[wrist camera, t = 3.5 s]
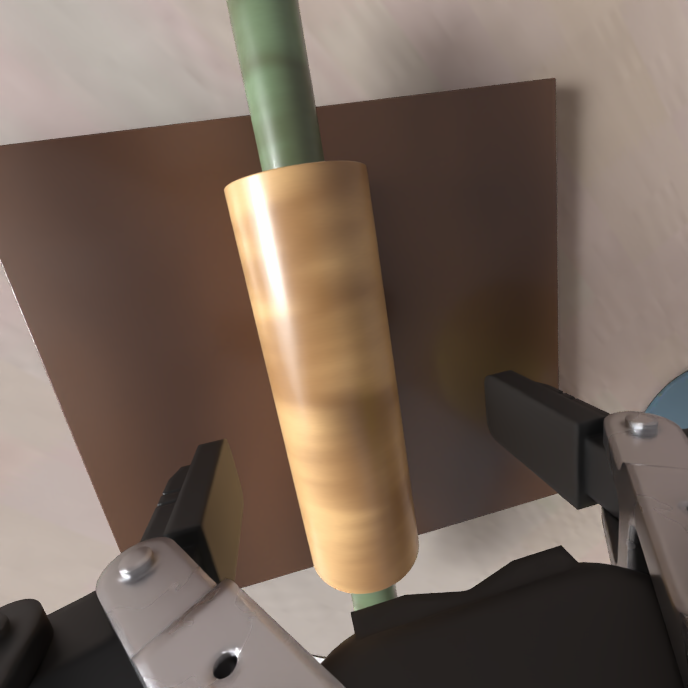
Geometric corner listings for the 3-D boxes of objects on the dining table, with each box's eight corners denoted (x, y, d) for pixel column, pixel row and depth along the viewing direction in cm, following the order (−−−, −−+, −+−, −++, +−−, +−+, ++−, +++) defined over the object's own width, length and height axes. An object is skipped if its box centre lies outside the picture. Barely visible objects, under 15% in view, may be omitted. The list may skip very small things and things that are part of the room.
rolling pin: (327, 608, 21) (344, 714, 16) (190, 26, 13) (145, -100, 9) (410, 582, 22) (450, 675, 17) (324, 14, 14) (352, -108, 9)
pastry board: (153, 596, 20) (146, 617, 19) (-21, 158, 14) (-47, 150, 13) (546, 481, 23) (560, 493, 22) (537, 88, 17) (556, 77, 16)
